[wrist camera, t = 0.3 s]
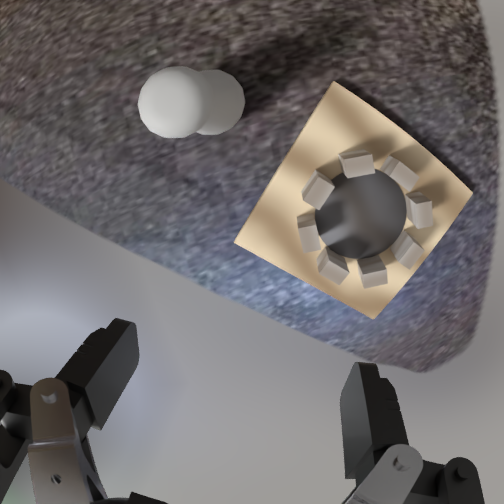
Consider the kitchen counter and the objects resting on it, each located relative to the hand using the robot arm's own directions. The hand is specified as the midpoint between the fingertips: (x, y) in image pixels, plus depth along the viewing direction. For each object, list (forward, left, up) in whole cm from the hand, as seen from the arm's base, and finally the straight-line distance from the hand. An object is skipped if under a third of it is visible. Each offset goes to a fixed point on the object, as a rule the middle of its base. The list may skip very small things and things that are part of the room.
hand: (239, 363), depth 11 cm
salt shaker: (-5, -8, -22) cm, 24 cm away
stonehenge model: (-3, +9, -22) cm, 23 cm away
